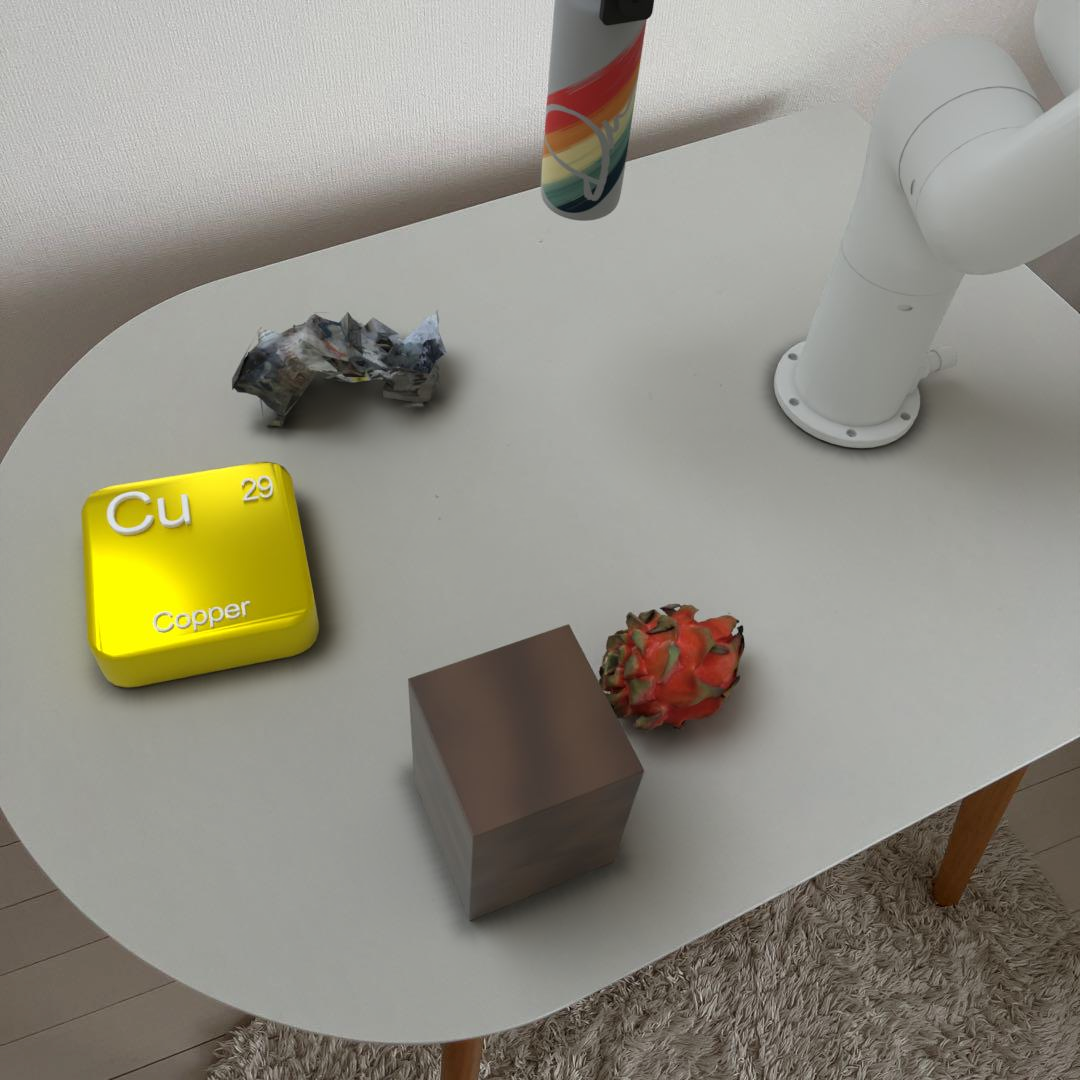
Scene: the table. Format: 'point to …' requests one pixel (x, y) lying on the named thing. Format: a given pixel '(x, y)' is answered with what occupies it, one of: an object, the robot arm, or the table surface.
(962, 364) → the table surface
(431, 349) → the foil
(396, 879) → the table surface
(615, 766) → the block
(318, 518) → the table surface
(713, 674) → the dragon fruit
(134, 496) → the element tile
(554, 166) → the lotion bottle
